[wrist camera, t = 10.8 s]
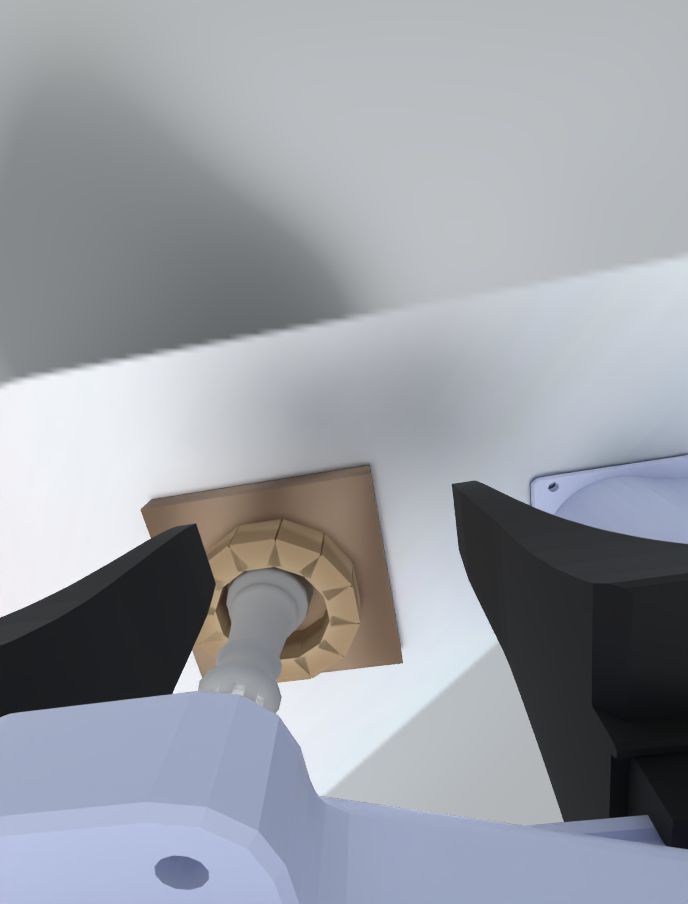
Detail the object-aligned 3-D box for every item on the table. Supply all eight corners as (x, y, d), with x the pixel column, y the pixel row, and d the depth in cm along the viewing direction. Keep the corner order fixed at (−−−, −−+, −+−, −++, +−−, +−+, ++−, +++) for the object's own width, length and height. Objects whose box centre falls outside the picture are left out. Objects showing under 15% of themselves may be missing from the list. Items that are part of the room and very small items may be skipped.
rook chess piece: (314, 619, 24) (293, 763, 16) (234, 616, 24) (178, 758, 17) (314, 550, 23) (292, 673, 15) (229, 546, 23) (165, 668, 15)
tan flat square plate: (369, 465, 22) (371, 490, 19) (400, 647, 26) (406, 692, 23) (151, 499, 23) (120, 528, 20) (211, 670, 27) (193, 716, 24)
